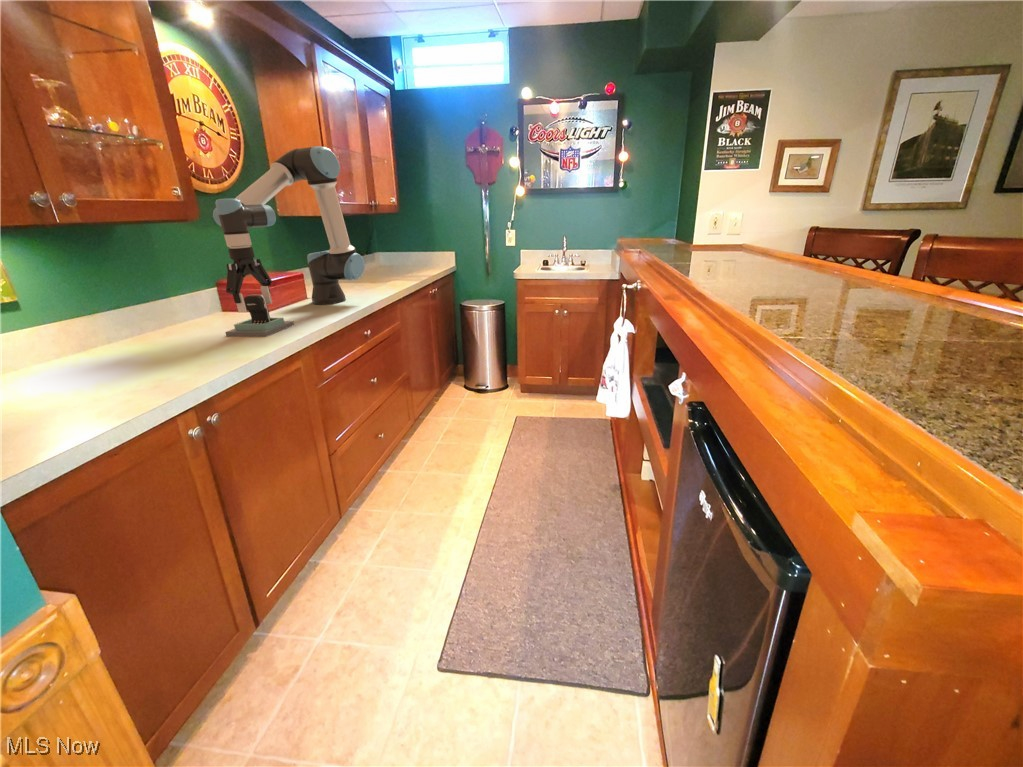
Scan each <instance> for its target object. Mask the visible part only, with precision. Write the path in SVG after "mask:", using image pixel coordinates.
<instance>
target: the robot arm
mask: <svg viewBox="0 0 1023 767" xmlns="http://www.w3.org/2000/svg"><path fill="white" fill-rule="evenodd" d="M269 168H270V169H269V170H267V171H266V172H265V173H264V174H262V175H261V176H260V177H259V178H258V179H256V180H255V181H254V182H253V183H252V184H250V185H249V186H248V187H247V188H246V189H245V190H243V191H242V192H240V194H238V195H237V196H236V197H235V198H219V199H216V200H215V208H214V209H213V212H212V218H213V220H214V221H215V223H216V224H217V225H218V226H220V227H221V229H222V232H223V237H224V240H225V243H226V247H228V249H227V251H228V256H229V258H230V259H231V260H232V262H233V263H227V264H226V269H227V270H226V271H227V275H226V277H227V278H226V286H225V287H226V289H225V292H226V293H227V294H230V295H232V298H233V300H234V303H235V305H236V308H237V310H238V313H247V312H248V310H246V306H245V303H244V295H243V293H242V292H241V289H242V285H243V282H244V278H245V277H246V276H248V275H251V276H252V277H253V278H254V279H255V280H256V281H257V282H258V283H259V284H260V285H261V286H260V291H261V295H263V296H264V297H265V299H266V302H267V305H268V304H269V305H272V304H273V300H272V295H271V291H270V286H272V284H273V280H272V279H271V277H270V275H269V274H268V272H267V270H266V269H265V267H264V266H263V265H262V264H263V263H262V261H261V259H260V258H255V257H256V255H255V252H254V248H253V246H252V244H253V243H252V240H251V236H250V233H249V232H250V231H249V229H250V228H267V227H272V226H274V225H275V223H276V222H277V216H276V212H275V210H274V209H273V208H272V206H270V205H269V204H267V203H268V202H269V201H271V200H272V199H273V198H274V197H275V196H276V195H277V194H278V193H279V192H280V191H282V190H283V189H284V188H285V187H291V186H292V185H293V184H294V183H297V182H298V181H299V182H300V181H307V184H308V186H309V187H310V188H311V189H313V192H314V195H315V199H316V201H317V206H318V208H319V212H320V216H321V219H322V220H321V221H322V223H323V226H324V229H325V233H326V236H327V241H328V244H329V249H328V250H323V251H317V252H311V253H310V252H309V253H308V254H307V259H306V260H307V265H308V266H307V267H308V269H309V275H310V278H311V283H312V292H311V303H312V304H314V305H332V304H337V303H341V302H344V301H346V300H347V298H346V294H345V292H344V290H343V289H342V286H341V285H340V282H339V280H340V281H354V280H355V281H356V280H359V279H360V278H361V277H362V276H363V274H364V271H365V266H366V265H365V260H364V257H363V256H362V255H361V254H359V253H357V250H356V247H355V246H353V245H352V244H351V242H350V238H349V235H348V234H349V233H348V230H347V227H346V222H345V220H344V219H345V218H344V216H343V211H342V209H341V208H342V207H341V204H340V201H339V196H338V193H337V190H336V185H337V183H338V178H337V177H338V176H339V175H340V171H341V166H340V162H339V160H338V158H337V156H336V154H335V153H334V152H333V151H332V150H331V149H330V148H328V147H326V146H318V145H317V146H316V145H315V146H310V147H301V148H294V149H291V150H288V151H287V152H285V153H284V154H282V155H281V156H280V157H278V158H277V159H276V160H275V161H274V162H272V163H271V165H270V167H269Z"/></svg>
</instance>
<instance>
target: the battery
mask: <svg viewBox="0 0 1023 767" xmlns="http://www.w3.org/2000/svg"><path fill="white" fill-rule="evenodd" d="M243 299H244V303H245V306H246V310H247V311H248V312H249V315H250V317H251V318H252V324H265V323H268V322H270V321H271V319H270V318H271V316H270V312H269V308H268V304H267V302H266V299H265V297H264V296H263V295H262V294H249V295H246V296H244V297H243ZM251 318H250V319H251Z"/></svg>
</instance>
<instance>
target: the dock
mask: <svg viewBox="0 0 1023 767" xmlns="http://www.w3.org/2000/svg"><path fill="white" fill-rule="evenodd" d="M270 319H271V321H270V322H268V323H265V324H252V318H249V319H247V320H244V321H241V322H237V323H235V324H233V326H234V328H232V329H230V330H227V331H224V332H225V336H226V337H268V336H271V335H273V334H275V333H279V332H281V331H283V330H285V329H288V328H290V327H292V325H293V326H294V325H295V323H294V320H285V319H284V317H270Z"/></svg>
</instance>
